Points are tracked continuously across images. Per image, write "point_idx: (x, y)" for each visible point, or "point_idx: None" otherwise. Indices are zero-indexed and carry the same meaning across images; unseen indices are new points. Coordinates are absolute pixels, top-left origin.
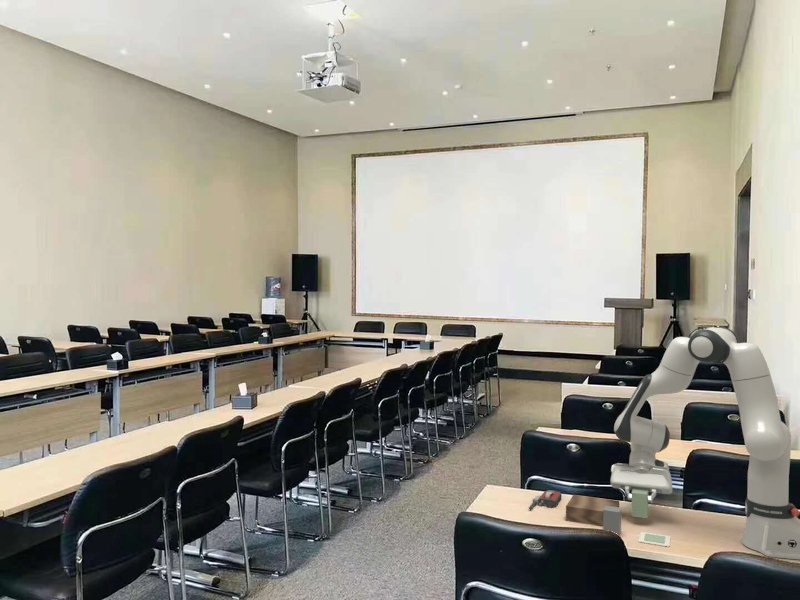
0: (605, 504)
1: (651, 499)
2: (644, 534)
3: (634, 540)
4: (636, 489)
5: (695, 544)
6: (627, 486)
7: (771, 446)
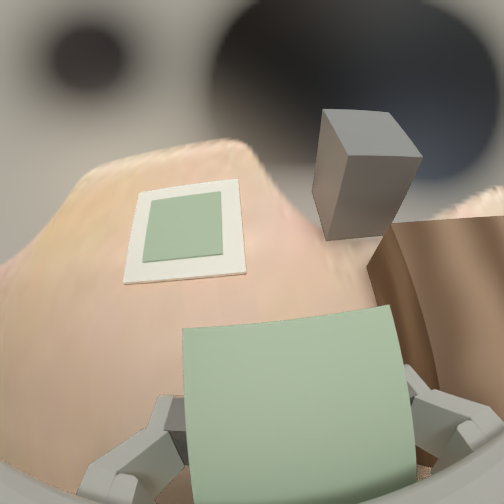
0: (483, 336)
1: (162, 401)
2: (226, 247)
3: (254, 188)
4: (371, 490)
5: (61, 260)
6: (487, 438)
7: None
